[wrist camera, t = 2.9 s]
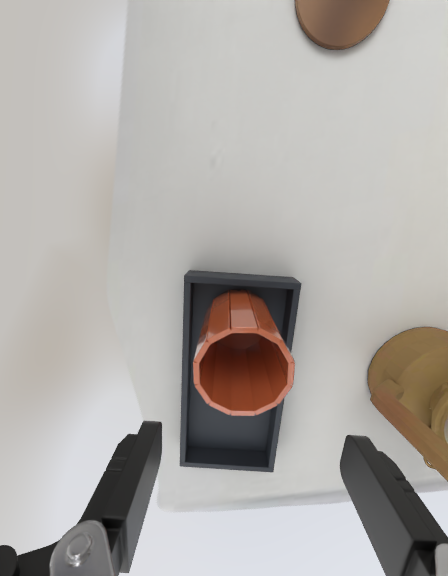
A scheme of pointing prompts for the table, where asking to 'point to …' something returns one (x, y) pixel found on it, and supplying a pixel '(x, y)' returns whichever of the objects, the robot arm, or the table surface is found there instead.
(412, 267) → the table surface
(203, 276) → the tray
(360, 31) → the coaster
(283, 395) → the cup
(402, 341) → the lantern
